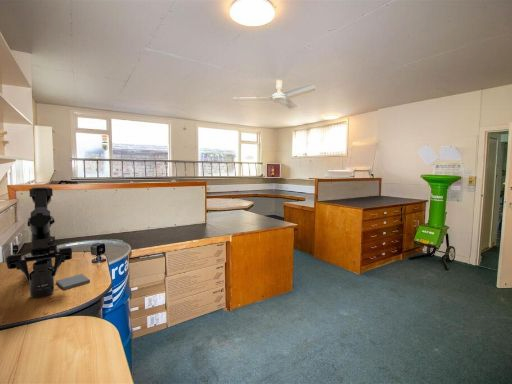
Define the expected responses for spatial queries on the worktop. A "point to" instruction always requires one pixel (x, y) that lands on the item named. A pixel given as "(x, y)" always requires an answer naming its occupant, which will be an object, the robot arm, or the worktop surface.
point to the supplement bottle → (41, 280)
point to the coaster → (72, 281)
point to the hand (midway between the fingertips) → (41, 278)
